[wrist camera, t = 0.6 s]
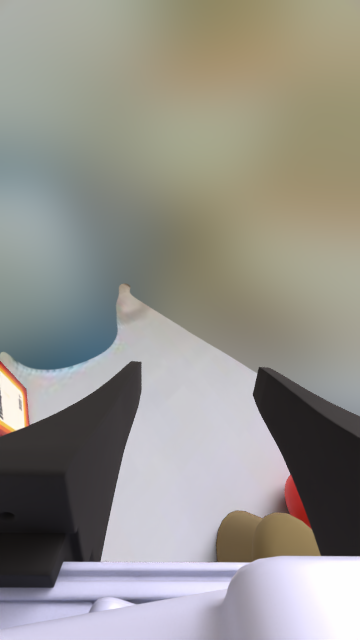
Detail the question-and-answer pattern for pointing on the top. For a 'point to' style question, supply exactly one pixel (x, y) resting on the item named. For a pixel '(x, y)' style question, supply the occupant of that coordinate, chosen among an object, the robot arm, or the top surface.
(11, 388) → the baking soda box
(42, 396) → the top surface
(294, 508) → the tomato
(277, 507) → the top surface
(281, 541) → the tan rounded tall piece
